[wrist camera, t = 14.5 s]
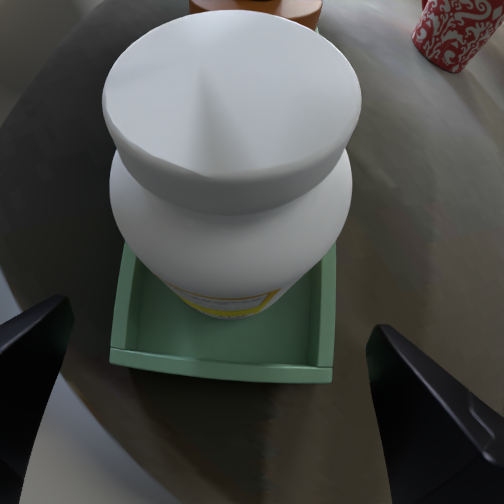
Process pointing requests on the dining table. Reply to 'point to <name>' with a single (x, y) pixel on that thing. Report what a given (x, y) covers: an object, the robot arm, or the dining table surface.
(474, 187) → the dining table surface
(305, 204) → the supplement bottle
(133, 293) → the tray
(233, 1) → the amber bottle
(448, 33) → the mug
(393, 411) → the robot arm
